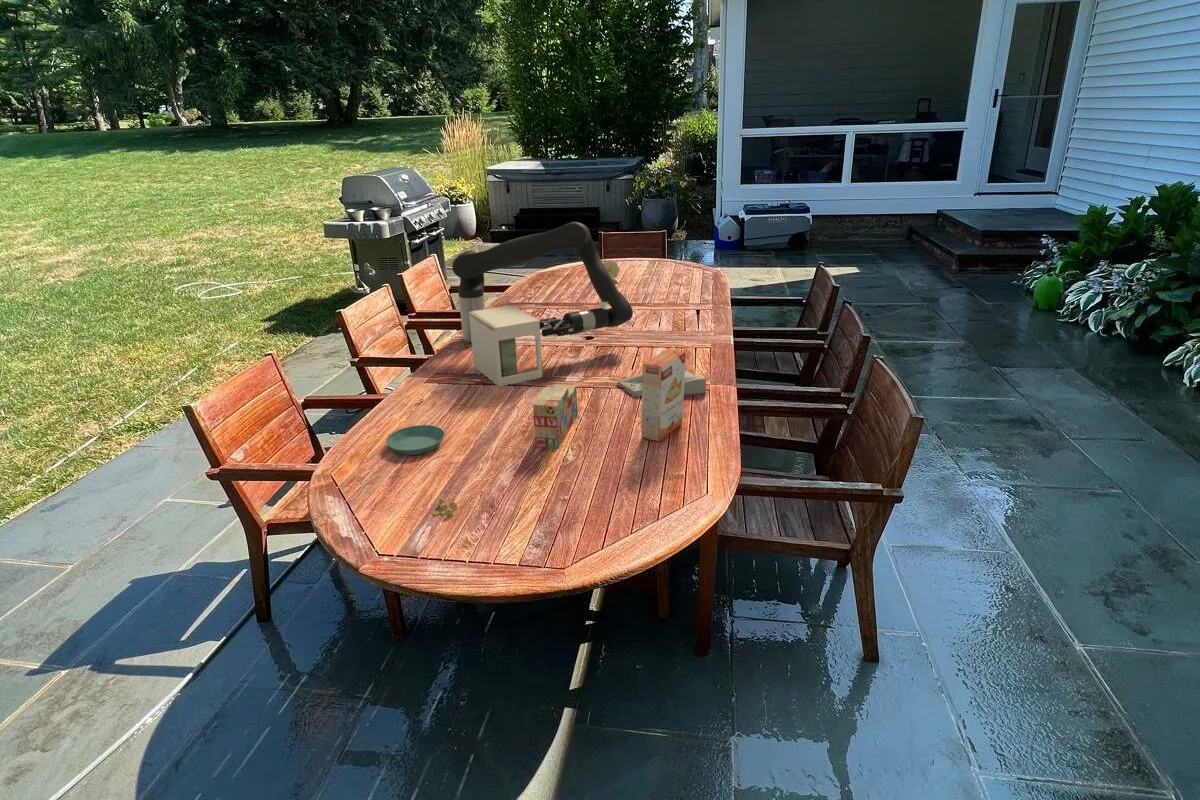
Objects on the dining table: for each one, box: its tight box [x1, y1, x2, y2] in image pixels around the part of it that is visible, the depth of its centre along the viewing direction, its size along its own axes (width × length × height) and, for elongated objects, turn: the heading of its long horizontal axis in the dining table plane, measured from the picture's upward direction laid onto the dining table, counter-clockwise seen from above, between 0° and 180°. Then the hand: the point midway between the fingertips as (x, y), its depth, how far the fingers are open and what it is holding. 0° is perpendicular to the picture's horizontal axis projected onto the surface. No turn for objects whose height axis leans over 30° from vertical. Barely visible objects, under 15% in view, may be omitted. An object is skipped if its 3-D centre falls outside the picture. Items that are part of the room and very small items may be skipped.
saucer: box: [385, 424, 446, 456], centre depth 174 cm, size 15×15×3 cm
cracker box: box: [640, 348, 687, 443], centre depth 175 cm, size 14×6×21 cm, turn 148°
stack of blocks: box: [532, 383, 579, 450], centre depth 179 cm, size 21×6×12 cm, turn 168°
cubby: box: [469, 304, 543, 387], centre depth 220 cm, size 22×15×19 cm
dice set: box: [433, 497, 458, 518], centre depth 145 cm, size 5×5×2 cm
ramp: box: [617, 369, 707, 397], centre depth 206 cm, size 28×16×5 cm, turn 76°
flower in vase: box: [597, 260, 621, 309], centre depth 273 cm, size 13×11×25 cm
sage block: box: [499, 338, 519, 376], centre depth 221 cm, size 5×5×12 cm
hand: (536, 330), depth 224 cm, fingers open, 8 cm apart
